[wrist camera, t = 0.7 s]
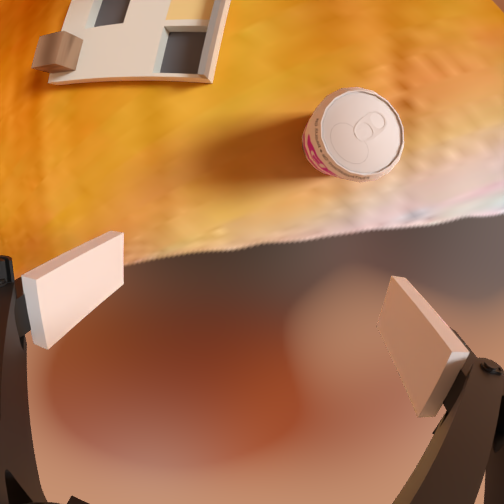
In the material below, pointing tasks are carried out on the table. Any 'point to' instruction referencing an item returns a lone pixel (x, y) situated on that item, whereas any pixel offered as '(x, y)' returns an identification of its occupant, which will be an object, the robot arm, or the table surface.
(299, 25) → the table surface
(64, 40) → the block
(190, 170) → the table surface
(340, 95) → the soda can
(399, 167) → the table surface
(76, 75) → the box
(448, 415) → the robot arm
